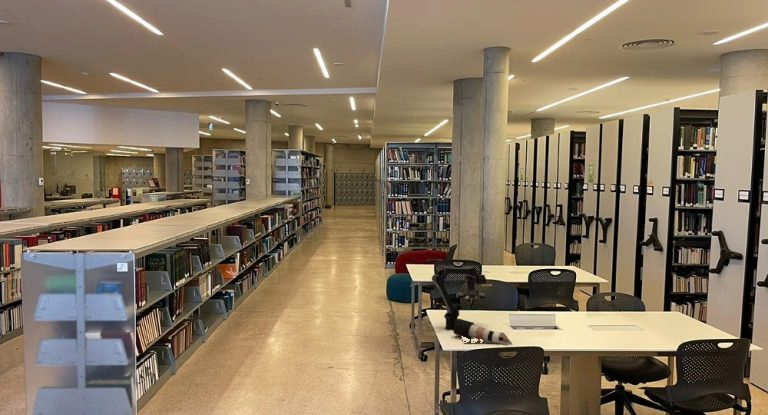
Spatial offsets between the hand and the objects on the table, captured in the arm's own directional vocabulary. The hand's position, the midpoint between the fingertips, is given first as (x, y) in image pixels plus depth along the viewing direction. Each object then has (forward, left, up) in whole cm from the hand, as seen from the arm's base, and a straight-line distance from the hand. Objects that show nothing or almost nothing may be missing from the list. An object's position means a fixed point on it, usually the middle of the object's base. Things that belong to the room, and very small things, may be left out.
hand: (470, 308), depth 366 cm
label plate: (+5, -26, -13) cm, 29 cm away
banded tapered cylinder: (+2, -31, -13) cm, 33 cm away
